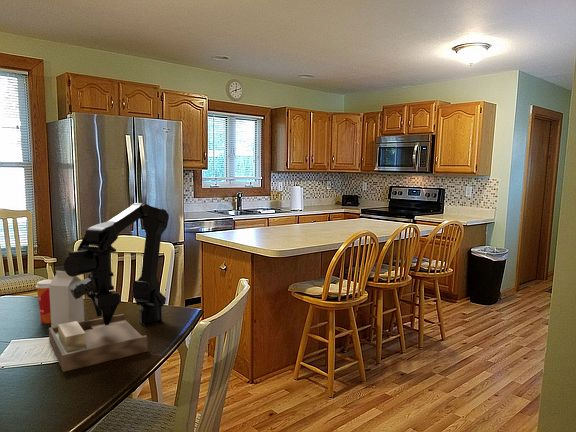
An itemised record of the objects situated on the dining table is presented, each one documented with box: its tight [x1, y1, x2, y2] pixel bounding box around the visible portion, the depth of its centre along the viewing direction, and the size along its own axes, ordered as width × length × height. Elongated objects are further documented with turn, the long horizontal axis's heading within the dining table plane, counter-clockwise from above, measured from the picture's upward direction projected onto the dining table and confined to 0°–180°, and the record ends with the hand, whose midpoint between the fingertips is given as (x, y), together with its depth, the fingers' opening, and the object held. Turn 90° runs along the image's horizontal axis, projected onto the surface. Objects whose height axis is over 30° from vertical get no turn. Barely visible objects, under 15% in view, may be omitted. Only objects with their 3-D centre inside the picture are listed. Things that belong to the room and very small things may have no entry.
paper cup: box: [35, 278, 53, 324], centre depth 148 cm, size 8×8×14 cm
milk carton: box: [49, 270, 85, 328], centre depth 142 cm, size 7×7×19 cm
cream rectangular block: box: [58, 321, 86, 351], centre depth 123 cm, size 5×12×4 cm, turn 37°
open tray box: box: [48, 313, 149, 373], centre depth 127 cm, size 22×24×4 cm
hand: (102, 320), depth 127 cm, fingers open, 9 cm apart
